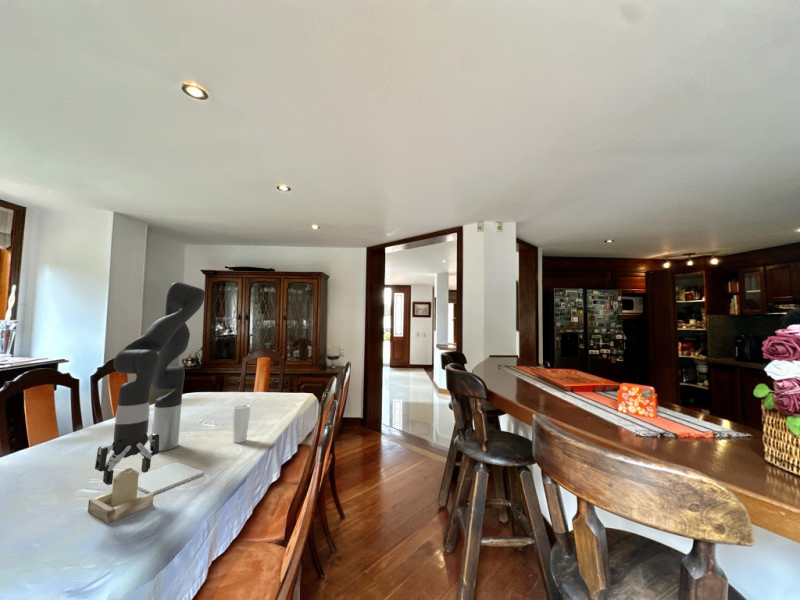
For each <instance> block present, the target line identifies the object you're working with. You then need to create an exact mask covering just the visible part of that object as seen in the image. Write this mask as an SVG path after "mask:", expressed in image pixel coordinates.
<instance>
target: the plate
mask: <svg viewBox="0 0 800 600" xmlns="http://www.w3.org/2000/svg"><path fill="white" fill-rule="evenodd" d="M202 474H203V475H204V474H205V471H203V470H200V469H197V468H194V467H191V466H188V465H186V464H183V463H180V462H177V461H176V462H174V463H170V464H168V465H167V464H166V465H164V466H162V467H160V468H156V469H153V470H151V471H148V472H145V473H144V472H143V473H141V474H139V477H138V488H137V490H139V491H141V492H143V493H146V495H147V494H149V493H153V494H154V495H156V494H159V493H161V492H163V490H164V491H166V490H169V489H171V488H174V487H176V486H178V485H177V484H179V485H180V483H181V484H183V483H182V482H184V483H185V481H186V482H188V481H190V480H189V479H191V480H193V479H195V477H196V478H198V477H200V476H199V475H201V476H203V475H202ZM197 476H198V477H197ZM192 478H193V479H192ZM187 480H188V481H187ZM175 485H176V486H175ZM173 486H174V487H173ZM170 487H171V488H170ZM168 488H169V489H168ZM165 489H166V490H165ZM160 491H161V492H160ZM158 492H159V493H158Z"/></svg>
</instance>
